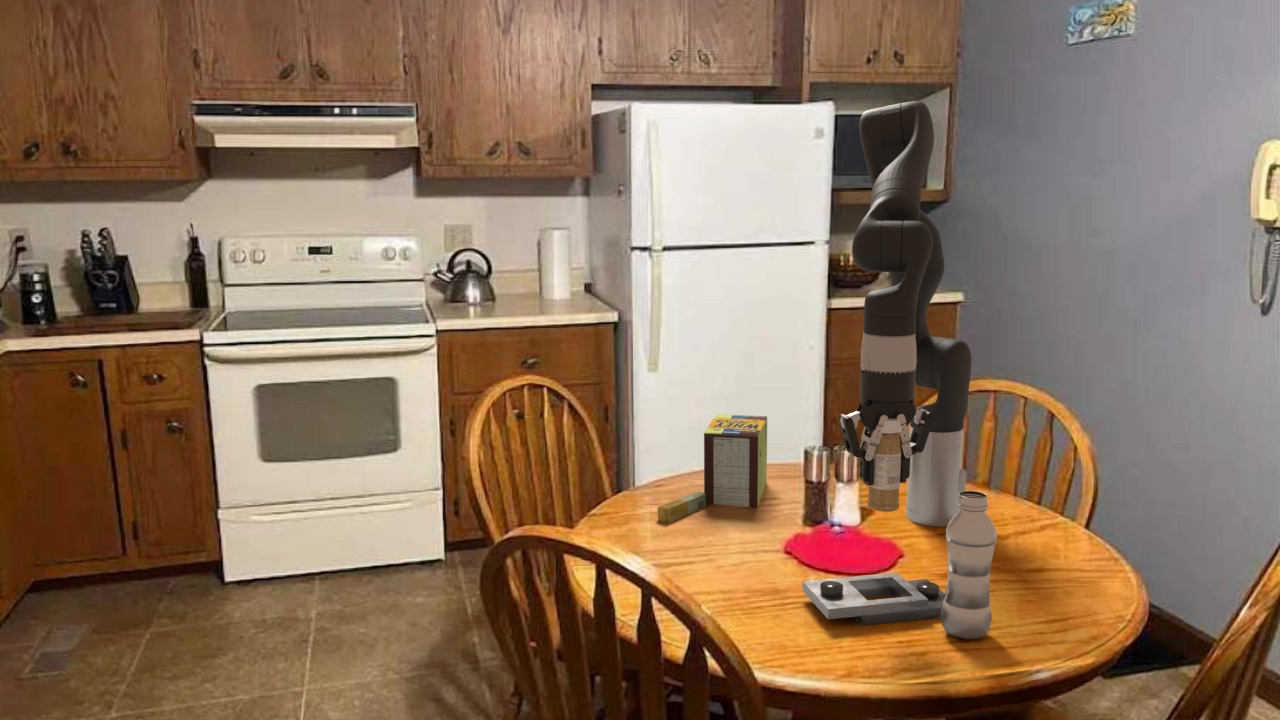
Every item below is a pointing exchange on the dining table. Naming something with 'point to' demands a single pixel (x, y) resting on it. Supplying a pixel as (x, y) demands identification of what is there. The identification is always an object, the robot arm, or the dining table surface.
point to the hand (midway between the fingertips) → (884, 482)
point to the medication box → (681, 507)
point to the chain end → (932, 612)
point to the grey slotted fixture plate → (847, 602)
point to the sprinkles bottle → (886, 469)
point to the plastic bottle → (969, 568)
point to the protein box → (735, 460)
